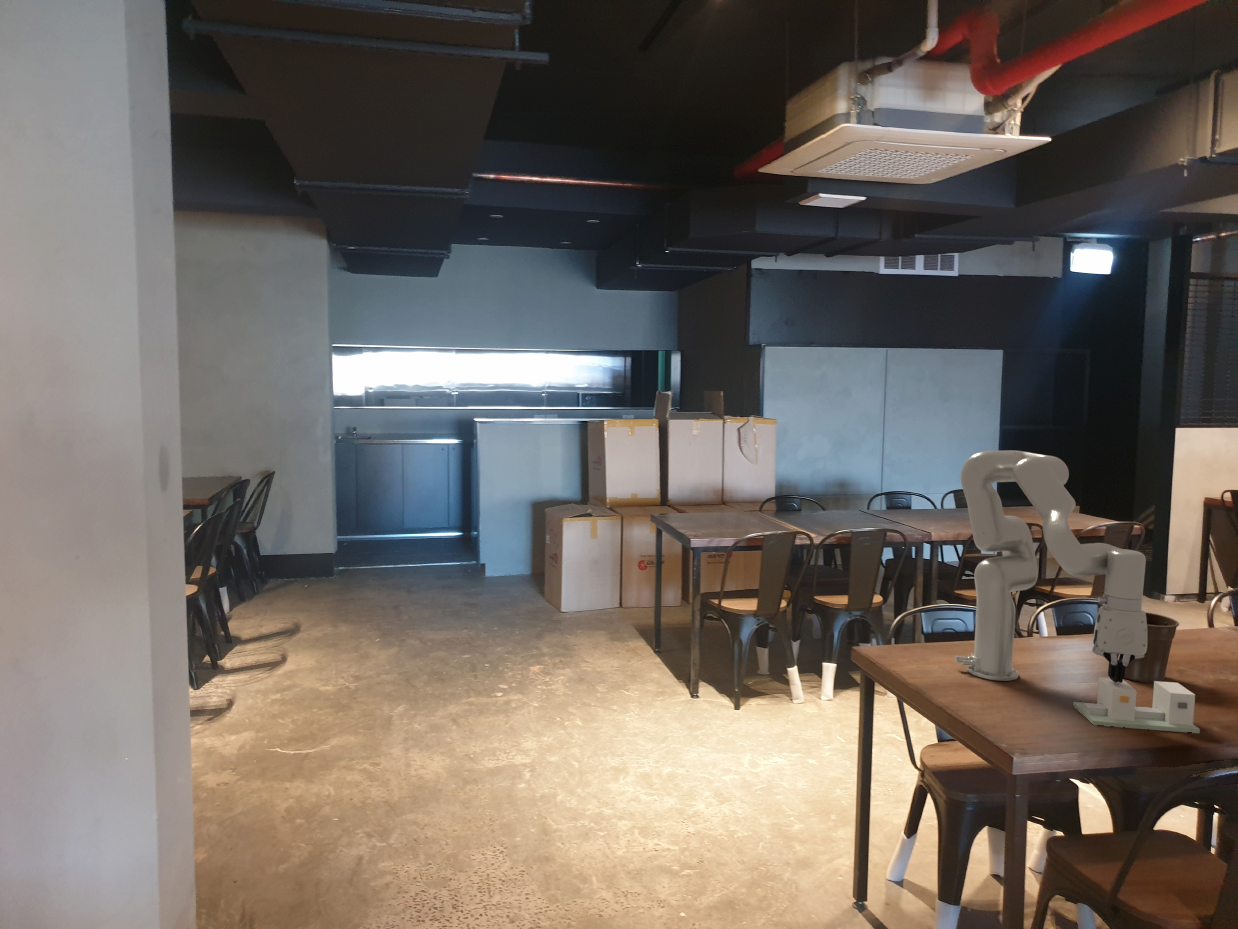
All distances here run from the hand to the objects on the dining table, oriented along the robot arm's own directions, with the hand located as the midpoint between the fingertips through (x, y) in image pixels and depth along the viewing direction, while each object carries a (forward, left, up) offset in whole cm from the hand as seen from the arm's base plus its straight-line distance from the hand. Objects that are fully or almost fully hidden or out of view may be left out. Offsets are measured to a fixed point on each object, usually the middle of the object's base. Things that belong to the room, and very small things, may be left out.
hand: (1115, 680), depth 192 cm
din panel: (+4, 0, -9) cm, 10 cm away
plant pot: (+19, +34, -9) cm, 40 cm away
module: (0, 0, -8) cm, 8 cm away
